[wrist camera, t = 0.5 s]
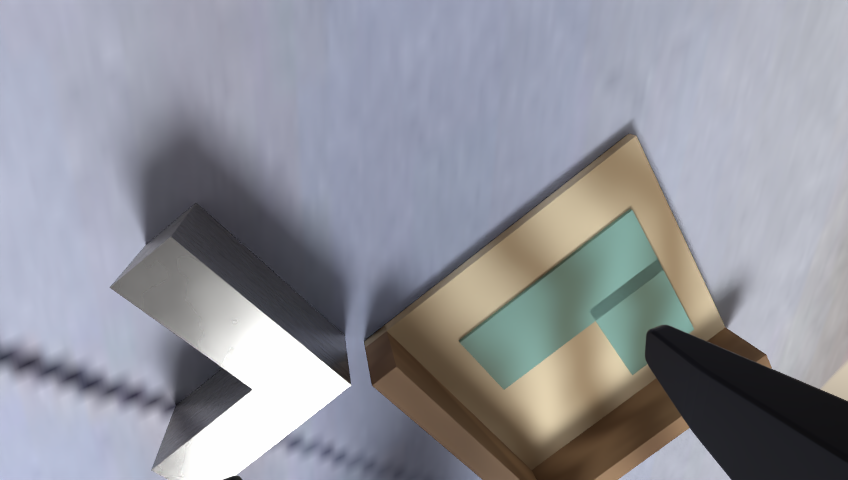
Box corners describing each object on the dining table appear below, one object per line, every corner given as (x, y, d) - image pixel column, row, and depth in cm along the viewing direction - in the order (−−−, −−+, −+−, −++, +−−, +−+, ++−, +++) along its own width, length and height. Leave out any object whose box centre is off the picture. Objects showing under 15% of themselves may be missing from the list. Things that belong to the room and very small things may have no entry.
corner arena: (521, 484, 32) (544, 532, 29) (363, 341, 24) (372, 385, 21) (724, 335, 31) (771, 368, 28) (628, 133, 23) (679, 147, 20)
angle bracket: (344, 335, 24) (350, 385, 20) (220, 433, 25) (205, 498, 21) (196, 202, 20) (170, 236, 16) (48, 326, 20) (-9, 385, 17)
